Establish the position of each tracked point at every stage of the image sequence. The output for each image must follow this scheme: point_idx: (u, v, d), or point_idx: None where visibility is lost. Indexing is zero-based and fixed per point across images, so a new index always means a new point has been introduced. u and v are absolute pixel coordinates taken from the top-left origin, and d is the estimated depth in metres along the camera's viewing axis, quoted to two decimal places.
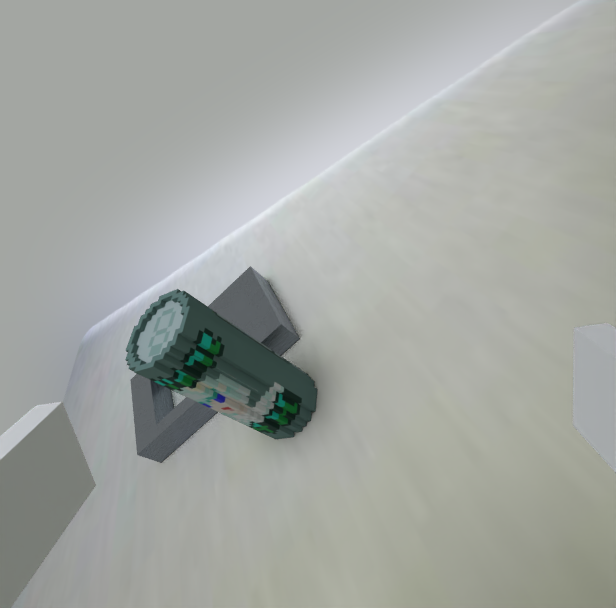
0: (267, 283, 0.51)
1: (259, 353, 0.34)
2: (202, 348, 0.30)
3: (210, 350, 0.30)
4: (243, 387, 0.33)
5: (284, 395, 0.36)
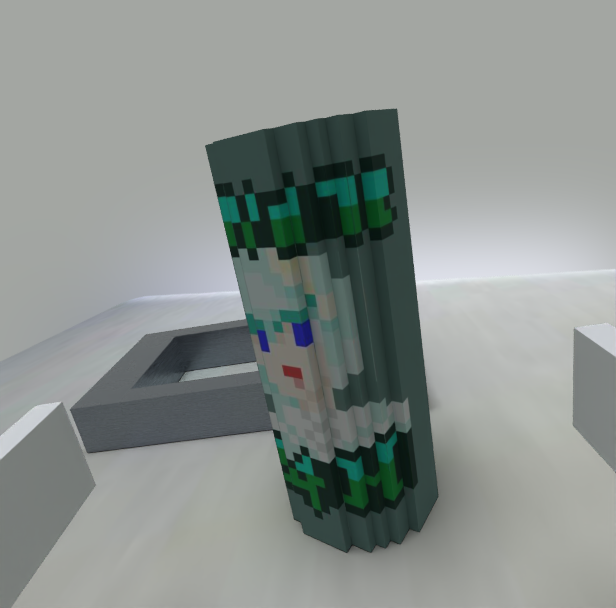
0: None
1: (417, 323, 0.16)
2: (363, 191, 0.13)
3: (373, 208, 0.13)
4: (359, 349, 0.14)
5: (401, 444, 0.16)
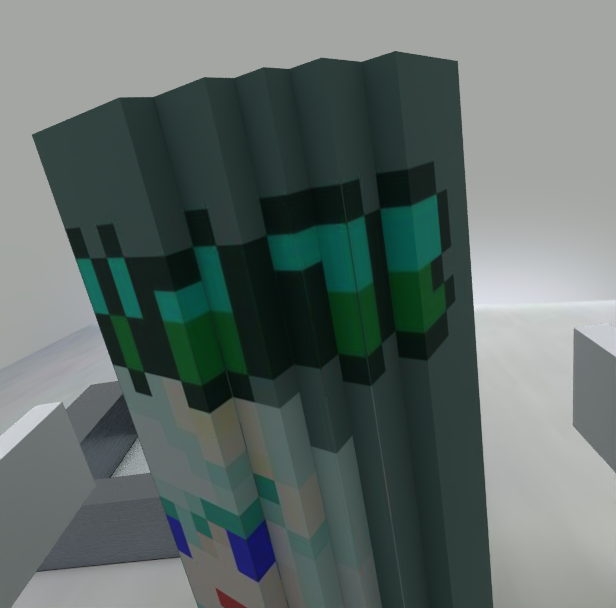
0: None
1: (481, 484, 0.08)
2: (384, 251, 0.06)
3: (407, 289, 0.06)
4: (374, 579, 0.07)
5: None
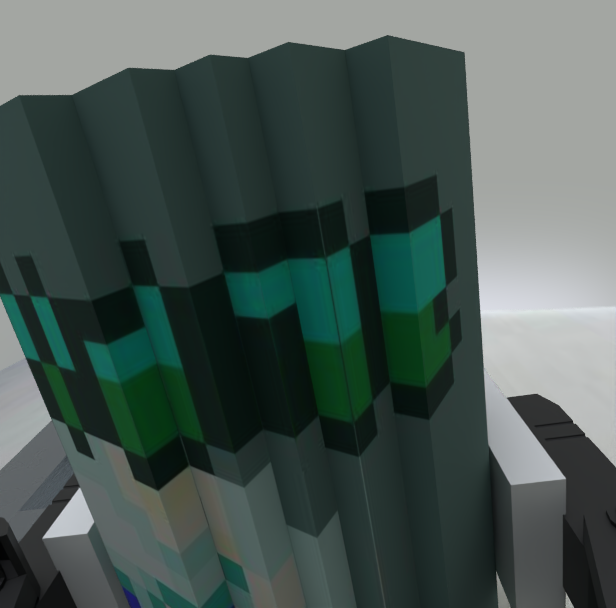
0: None
1: (490, 542, 0.07)
2: (376, 287, 0.04)
3: (405, 335, 0.04)
4: None
5: None
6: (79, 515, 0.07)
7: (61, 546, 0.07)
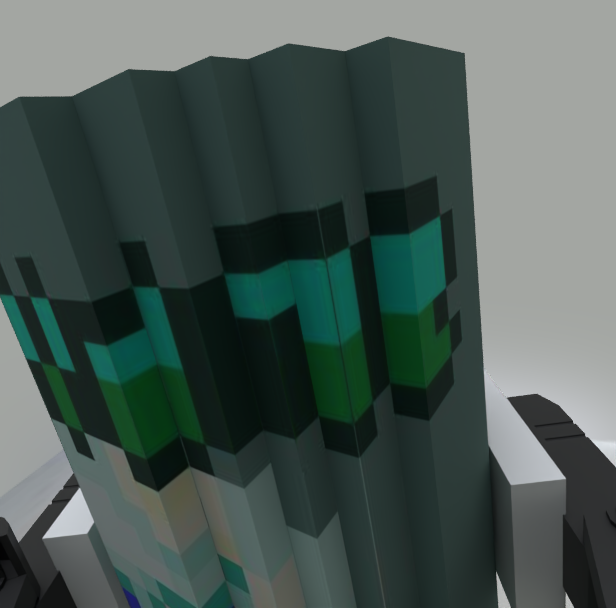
0: None
1: (490, 542, 0.07)
2: (376, 288, 0.04)
3: (405, 335, 0.04)
4: None
5: None
6: (79, 515, 0.07)
7: (61, 546, 0.07)
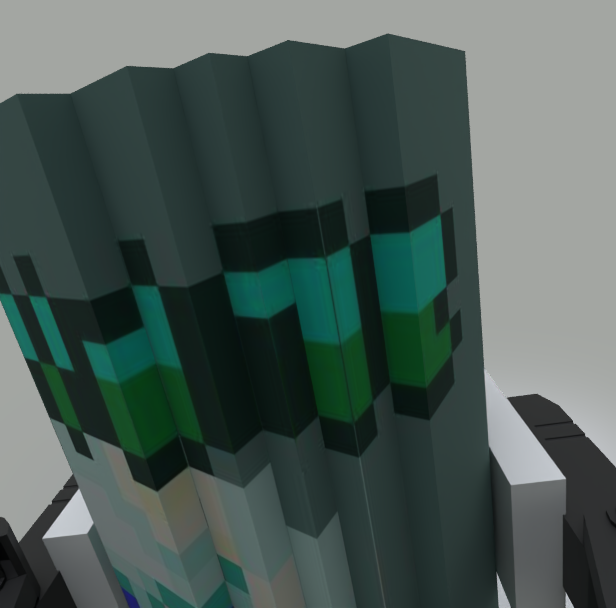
0: None
1: (491, 542, 0.07)
2: (376, 287, 0.04)
3: (404, 334, 0.04)
4: None
5: None
6: (79, 515, 0.07)
7: (61, 546, 0.07)
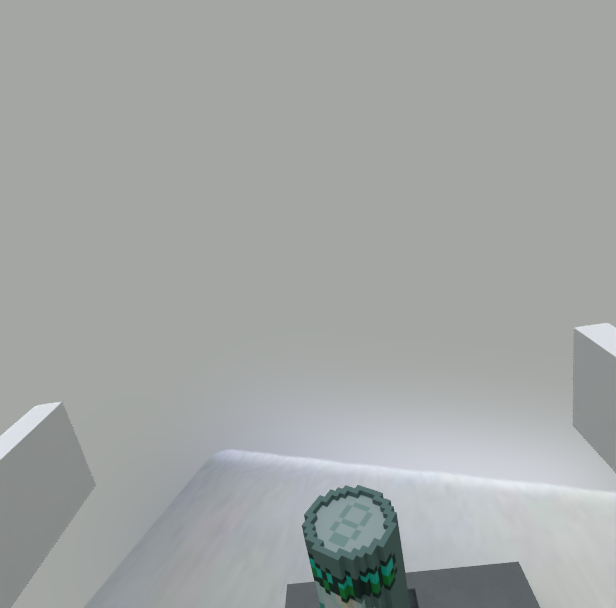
0: None
1: (407, 605, 0.31)
2: (381, 571, 0.28)
3: (385, 578, 0.28)
4: None
5: None
6: None
7: None
